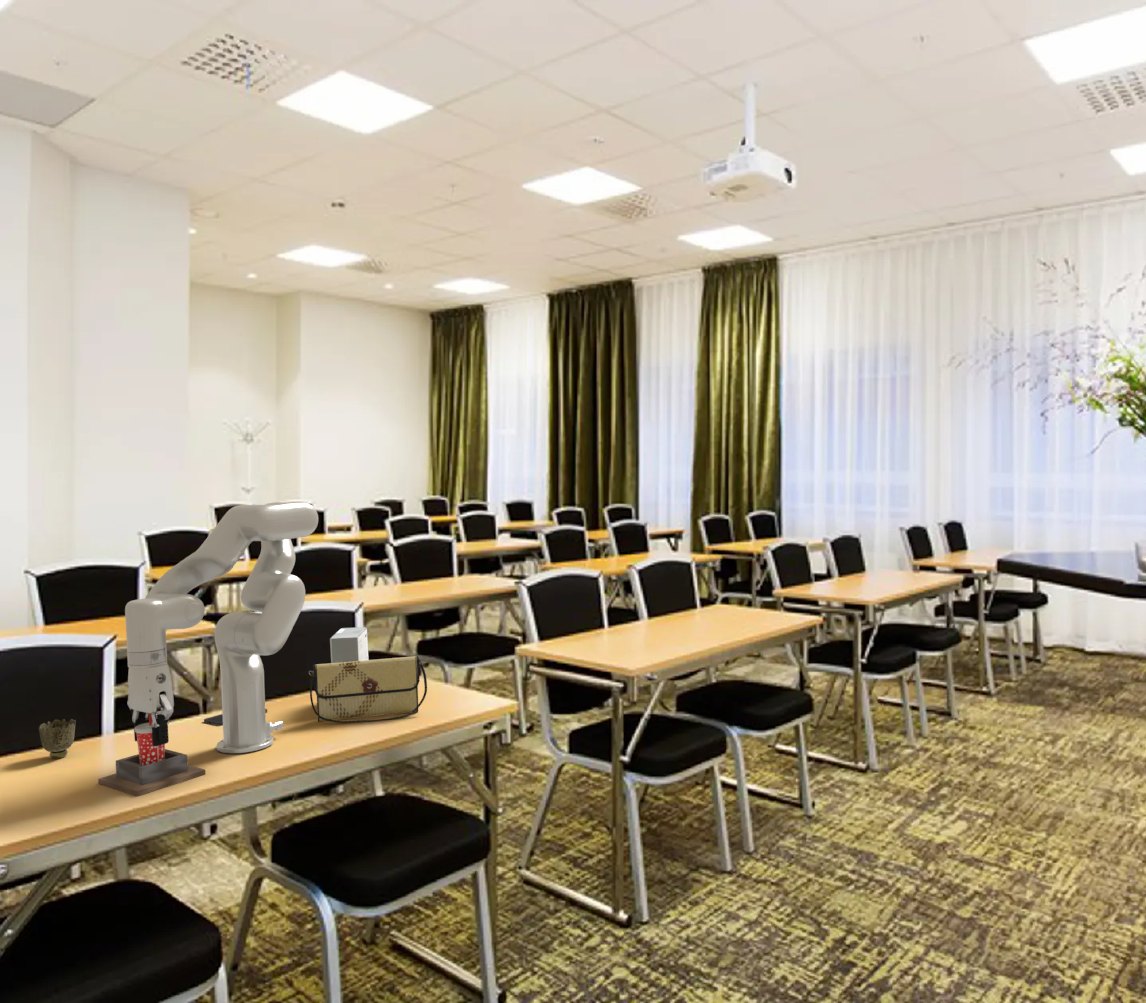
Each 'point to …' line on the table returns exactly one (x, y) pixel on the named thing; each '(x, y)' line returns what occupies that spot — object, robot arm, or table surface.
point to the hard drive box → (349, 645)
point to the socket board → (150, 773)
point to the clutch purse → (367, 688)
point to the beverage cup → (148, 744)
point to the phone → (217, 720)
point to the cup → (57, 737)
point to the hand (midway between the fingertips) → (151, 741)
